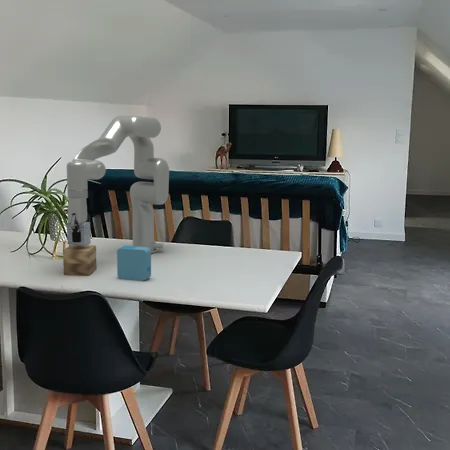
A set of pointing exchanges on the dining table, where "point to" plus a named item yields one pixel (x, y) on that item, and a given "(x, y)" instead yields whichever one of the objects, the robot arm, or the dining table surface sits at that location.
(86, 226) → the medicine box
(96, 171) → the robot arm
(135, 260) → the data package
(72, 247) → the upper block
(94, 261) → the lower block
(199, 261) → the dining table surface
